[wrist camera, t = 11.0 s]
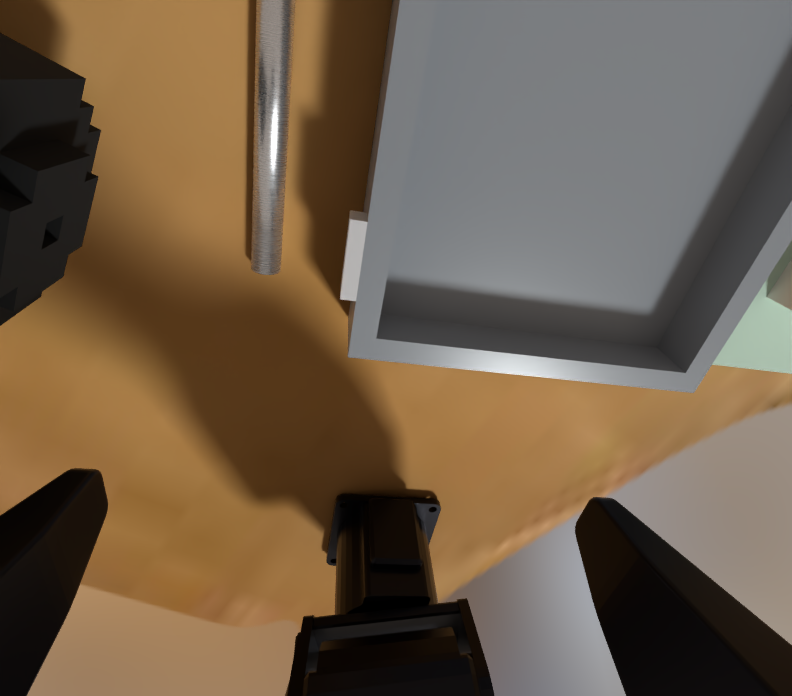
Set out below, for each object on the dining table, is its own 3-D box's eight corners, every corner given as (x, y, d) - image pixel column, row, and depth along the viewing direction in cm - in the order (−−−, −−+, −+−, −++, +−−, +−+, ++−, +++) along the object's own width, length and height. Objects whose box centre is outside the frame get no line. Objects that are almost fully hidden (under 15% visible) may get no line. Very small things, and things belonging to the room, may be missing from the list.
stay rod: (259, 276, 18) (246, 265, 19) (285, 273, 19) (272, 262, 20) (274, -242, 11) (252, -228, 12) (315, -213, 12) (292, -203, 13)
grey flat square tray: (651, 353, 23) (693, 392, 21) (335, 316, 21) (333, 355, 18) (909, -114, 14) (1049, -161, 12) (409, -290, 12) (428, -411, 9)
